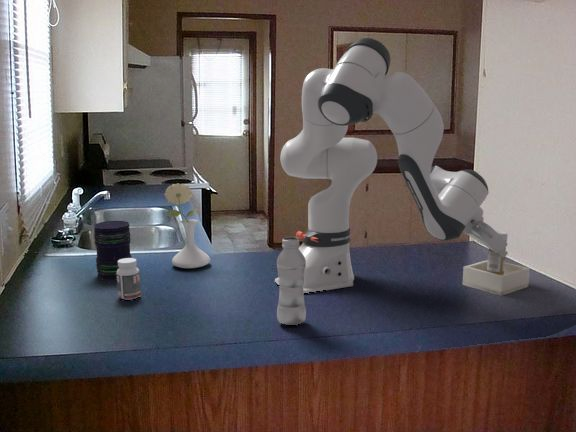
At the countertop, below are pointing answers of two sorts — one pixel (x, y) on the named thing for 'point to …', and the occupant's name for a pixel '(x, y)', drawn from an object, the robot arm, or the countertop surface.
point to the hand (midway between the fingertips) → (500, 252)
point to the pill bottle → (128, 279)
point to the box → (496, 278)
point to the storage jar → (111, 247)
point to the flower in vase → (186, 229)
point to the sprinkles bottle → (496, 259)
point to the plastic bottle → (291, 283)
